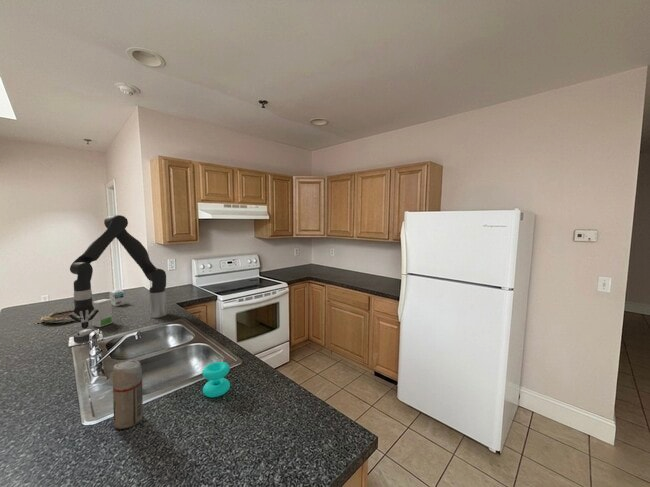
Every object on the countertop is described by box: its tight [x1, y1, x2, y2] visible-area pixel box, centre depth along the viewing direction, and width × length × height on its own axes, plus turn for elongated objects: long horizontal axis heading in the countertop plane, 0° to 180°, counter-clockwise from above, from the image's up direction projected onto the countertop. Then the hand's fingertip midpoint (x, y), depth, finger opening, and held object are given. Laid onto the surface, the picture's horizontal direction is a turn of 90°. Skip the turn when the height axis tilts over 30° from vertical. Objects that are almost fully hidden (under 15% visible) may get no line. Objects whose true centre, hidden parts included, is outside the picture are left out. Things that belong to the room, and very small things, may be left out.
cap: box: [78, 328, 93, 336], centre depth 152 cm, size 5×5×4 cm
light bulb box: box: [108, 288, 126, 307], centre depth 213 cm, size 11×7×11 cm, turn 58°
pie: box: [34, 308, 80, 325], centre depth 180 cm, size 28×27×5 cm
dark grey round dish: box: [68, 328, 104, 348], centre depth 152 cm, size 14×14×4 cm
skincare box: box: [91, 298, 113, 328], centre depth 172 cm, size 8×7×16 cm
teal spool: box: [201, 361, 231, 398], centre depth 107 cm, size 10×10×10 cm
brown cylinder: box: [112, 359, 144, 430], centre depth 90 cm, size 8×8×20 cm
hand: (85, 328), depth 151 cm, fingers closed
